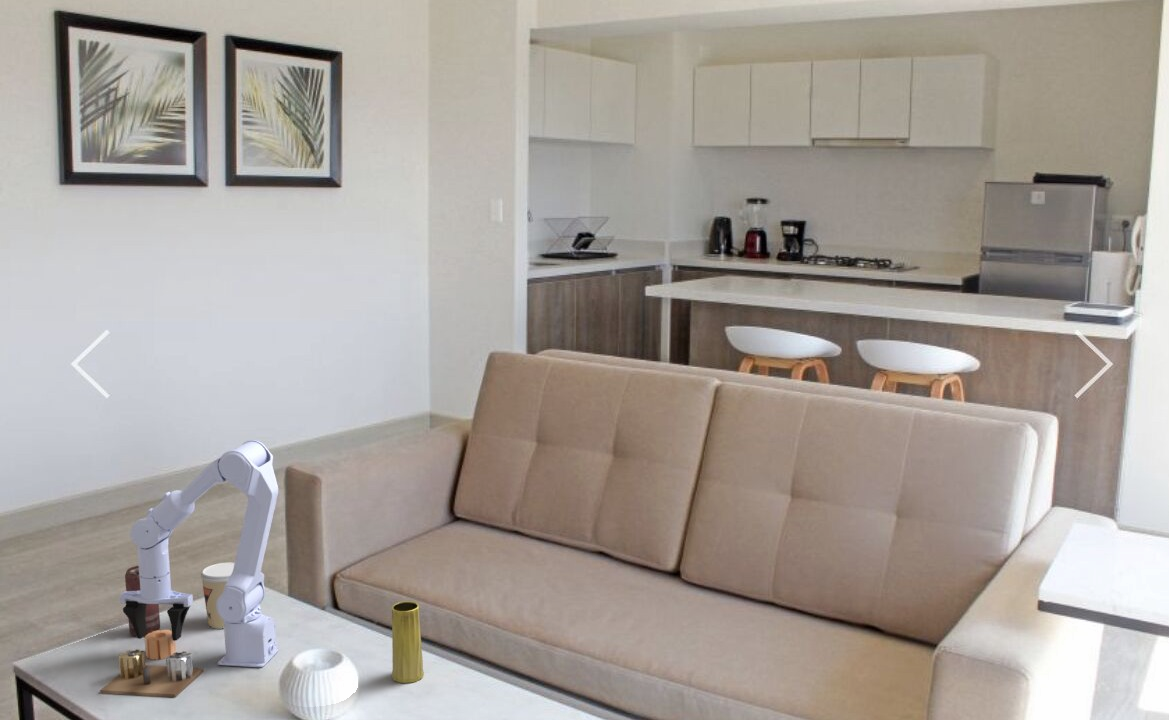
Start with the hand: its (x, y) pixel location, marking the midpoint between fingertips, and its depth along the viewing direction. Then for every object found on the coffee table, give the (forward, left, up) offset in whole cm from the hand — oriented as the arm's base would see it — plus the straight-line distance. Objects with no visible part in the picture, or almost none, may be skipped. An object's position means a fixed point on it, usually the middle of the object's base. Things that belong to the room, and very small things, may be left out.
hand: (159, 637), depth 218 cm
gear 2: (-10, +10, -4) cm, 15 cm away
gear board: (-5, +12, -4) cm, 13 cm away
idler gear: (0, 0, -4) cm, 4 cm away
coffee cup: (-6, -17, -4) cm, 18 cm away
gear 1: (0, +10, -4) cm, 11 cm away
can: (+9, -10, -4) cm, 14 cm away
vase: (-53, +4, -4) cm, 53 cm away
